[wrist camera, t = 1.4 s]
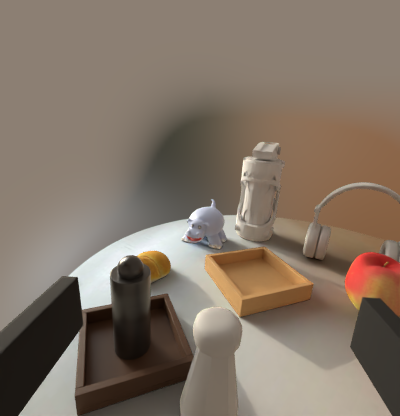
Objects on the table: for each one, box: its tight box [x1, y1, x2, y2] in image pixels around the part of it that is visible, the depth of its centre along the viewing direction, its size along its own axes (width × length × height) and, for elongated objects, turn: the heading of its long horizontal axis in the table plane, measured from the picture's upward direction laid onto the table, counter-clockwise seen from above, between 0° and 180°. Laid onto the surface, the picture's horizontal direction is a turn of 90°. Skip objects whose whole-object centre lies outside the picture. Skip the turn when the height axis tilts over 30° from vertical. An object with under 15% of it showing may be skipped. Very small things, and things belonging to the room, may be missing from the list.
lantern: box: [235, 142, 285, 241], centre depth 69 cm, size 13×10×25 cm
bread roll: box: [136, 251, 171, 283], centre depth 50 cm, size 8×9×4 cm
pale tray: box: [205, 247, 313, 317], centre depth 49 cm, size 15×15×3 cm
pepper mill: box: [110, 255, 151, 360], centre depth 31 cm, size 5×5×13 cm
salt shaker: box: [180, 307, 242, 416], centre depth 24 cm, size 6×6×13 cm
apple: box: [345, 252, 400, 316], centre depth 42 cm, size 10×10×10 cm
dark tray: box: [75, 294, 194, 416], centre depth 33 cm, size 13×13×3 cm
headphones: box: [303, 183, 400, 263], centre depth 54 cm, size 20×8×19 cm, turn 61°
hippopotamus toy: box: [181, 199, 227, 249], centre depth 63 cm, size 11×15×10 cm
